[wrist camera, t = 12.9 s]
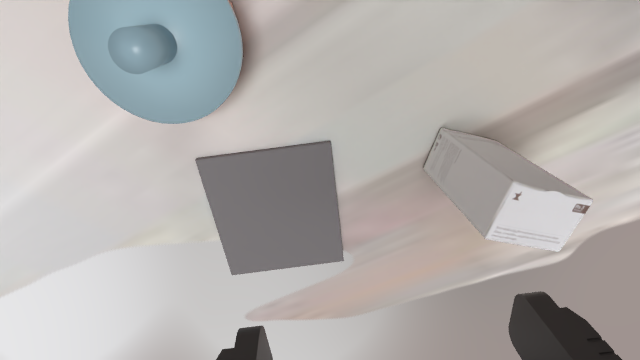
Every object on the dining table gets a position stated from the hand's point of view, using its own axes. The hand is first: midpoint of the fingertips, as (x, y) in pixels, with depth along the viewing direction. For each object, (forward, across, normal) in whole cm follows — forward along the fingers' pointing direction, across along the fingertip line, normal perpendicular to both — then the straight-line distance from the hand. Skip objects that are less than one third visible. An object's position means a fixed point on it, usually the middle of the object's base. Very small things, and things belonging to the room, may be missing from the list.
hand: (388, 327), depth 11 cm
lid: (+25, +14, -8) cm, 30 cm away
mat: (+30, +8, +14) cm, 34 cm away
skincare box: (+30, -16, +9) cm, 35 cm away
